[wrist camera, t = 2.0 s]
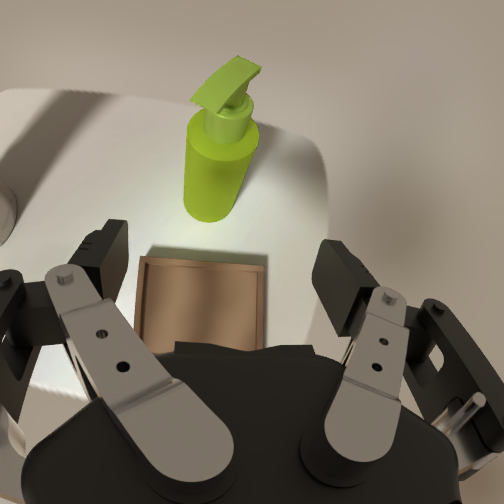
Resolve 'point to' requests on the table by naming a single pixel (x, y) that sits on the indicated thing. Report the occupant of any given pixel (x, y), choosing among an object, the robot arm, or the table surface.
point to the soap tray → (199, 304)
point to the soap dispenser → (220, 141)
